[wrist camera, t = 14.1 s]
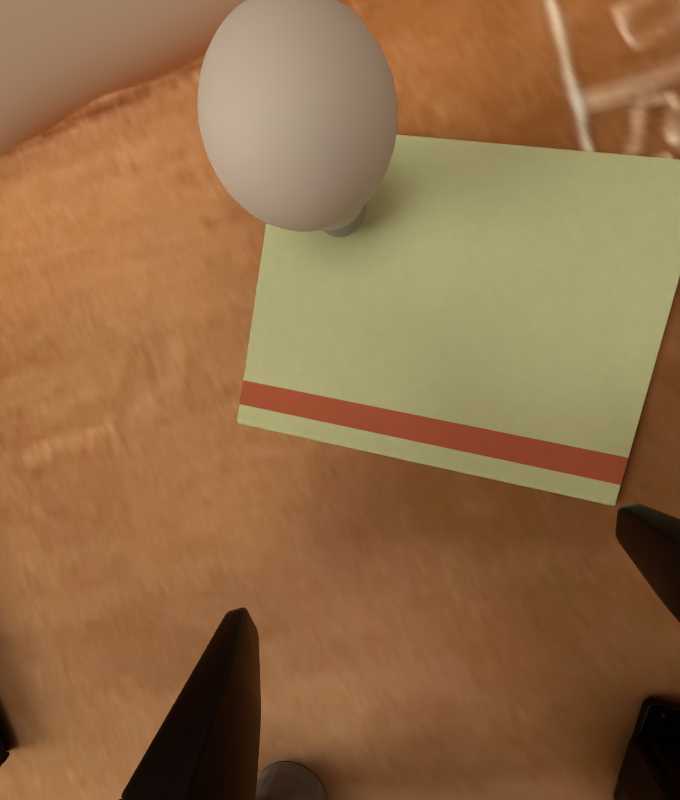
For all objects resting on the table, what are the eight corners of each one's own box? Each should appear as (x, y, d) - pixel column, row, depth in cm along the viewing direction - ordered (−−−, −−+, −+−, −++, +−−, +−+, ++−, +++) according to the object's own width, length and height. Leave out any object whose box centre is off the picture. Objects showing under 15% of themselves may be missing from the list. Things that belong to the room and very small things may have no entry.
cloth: (707, 165, 17) (712, 161, 17) (611, 504, 19) (615, 506, 19) (282, 127, 21) (280, 123, 20) (238, 422, 23) (236, 423, 22)
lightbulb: (398, 279, 20) (382, 184, 9) (283, 276, 21) (148, 187, 10) (408, 152, 19) (403, -111, 9) (289, 155, 20) (151, -76, 10)
